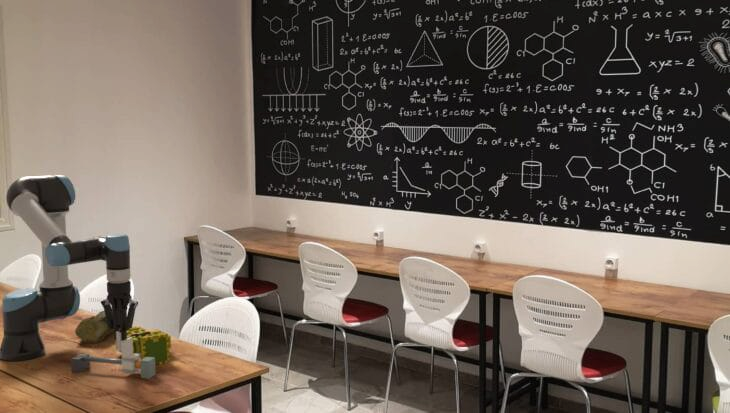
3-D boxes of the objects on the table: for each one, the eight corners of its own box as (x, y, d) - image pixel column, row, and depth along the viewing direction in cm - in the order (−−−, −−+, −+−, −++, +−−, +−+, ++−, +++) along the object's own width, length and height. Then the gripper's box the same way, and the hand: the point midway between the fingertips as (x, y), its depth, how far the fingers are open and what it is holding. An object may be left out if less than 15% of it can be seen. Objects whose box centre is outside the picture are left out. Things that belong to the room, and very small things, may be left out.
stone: (114, 344, 284) (129, 317, 308) (104, 317, 281) (119, 292, 305) (77, 354, 284) (95, 327, 308) (67, 327, 281) (85, 301, 305)
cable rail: (71, 371, 252) (70, 354, 252) (82, 366, 258) (81, 349, 257) (147, 379, 245) (147, 362, 245) (157, 373, 251) (156, 356, 250)
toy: (149, 319, 289) (178, 332, 264) (151, 345, 289) (180, 360, 265) (105, 326, 279) (131, 340, 255) (107, 353, 280) (133, 369, 255)
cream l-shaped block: (122, 372, 248) (121, 341, 247) (130, 367, 253) (129, 337, 252) (132, 373, 247) (131, 342, 246) (141, 368, 252) (140, 338, 251)
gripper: (94, 282, 245) (97, 351, 248) (129, 284, 242) (132, 354, 245) (108, 277, 252) (110, 344, 255) (142, 279, 249) (144, 347, 252)
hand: (121, 349), depth 250 cm, fingers closed
